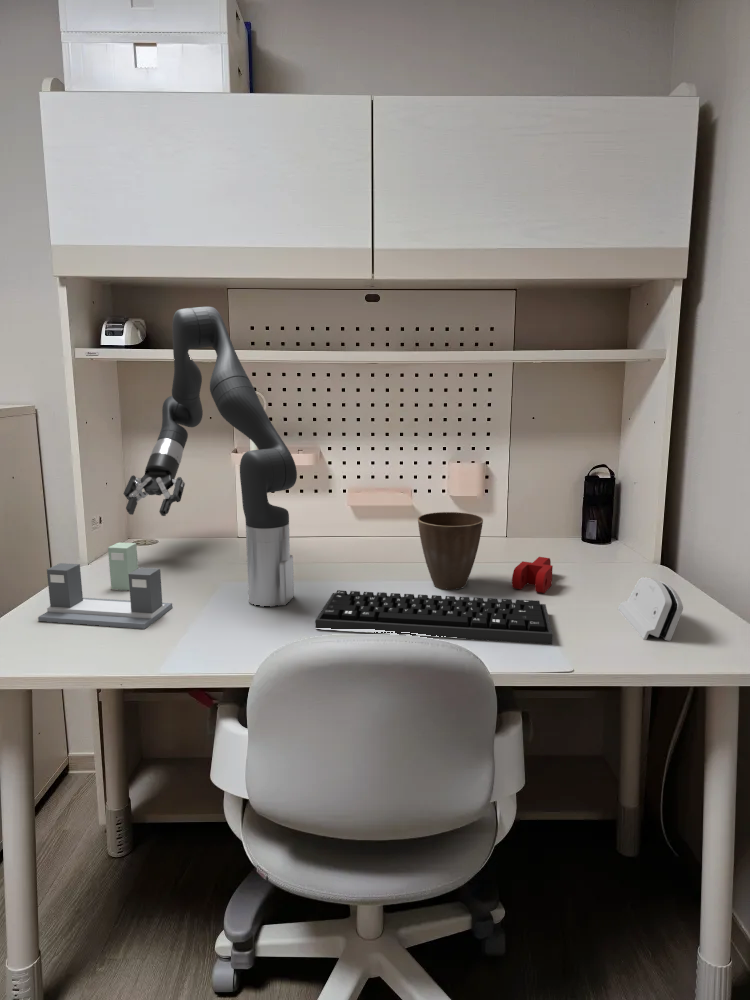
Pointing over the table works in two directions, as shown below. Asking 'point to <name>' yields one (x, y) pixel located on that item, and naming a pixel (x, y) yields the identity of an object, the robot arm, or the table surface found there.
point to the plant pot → (450, 546)
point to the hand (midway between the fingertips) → (145, 513)
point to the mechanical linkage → (533, 574)
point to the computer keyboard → (439, 616)
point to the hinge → (652, 609)
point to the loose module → (122, 564)
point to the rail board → (104, 600)
